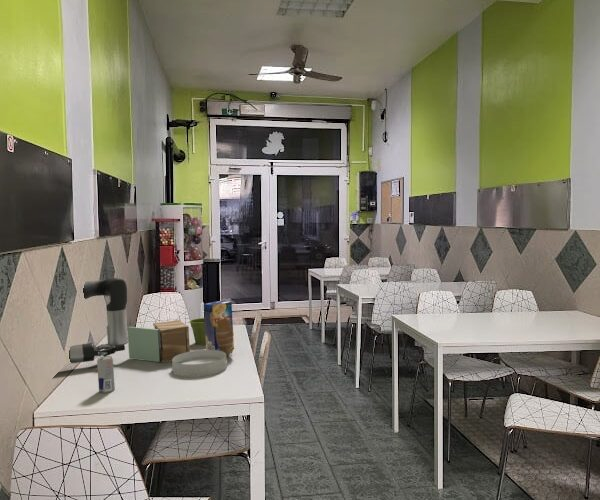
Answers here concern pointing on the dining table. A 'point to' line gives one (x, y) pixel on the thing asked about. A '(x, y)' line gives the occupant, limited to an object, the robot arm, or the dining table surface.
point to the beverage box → (215, 321)
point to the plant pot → (198, 330)
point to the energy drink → (105, 374)
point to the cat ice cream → (224, 335)
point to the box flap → (144, 344)
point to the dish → (199, 363)
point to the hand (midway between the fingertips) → (124, 347)
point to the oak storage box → (173, 339)
